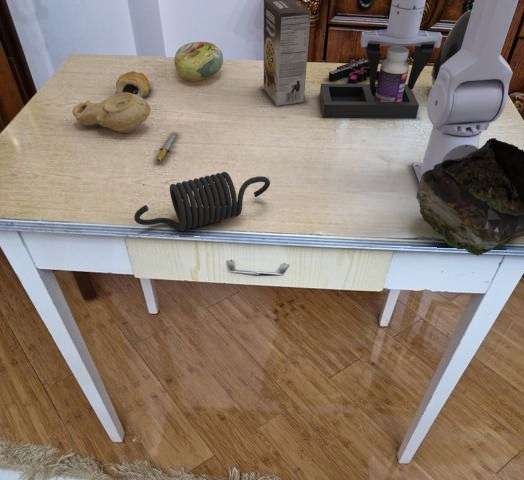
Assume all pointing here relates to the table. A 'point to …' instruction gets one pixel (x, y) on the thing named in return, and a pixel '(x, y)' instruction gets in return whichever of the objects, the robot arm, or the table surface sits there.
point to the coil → (204, 201)
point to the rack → (364, 102)
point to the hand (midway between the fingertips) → (390, 87)
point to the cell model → (198, 60)
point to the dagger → (165, 149)
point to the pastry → (133, 84)
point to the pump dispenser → (451, 44)
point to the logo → (352, 72)
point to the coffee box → (285, 50)
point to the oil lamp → (114, 112)
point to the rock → (476, 198)
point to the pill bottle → (392, 75)
